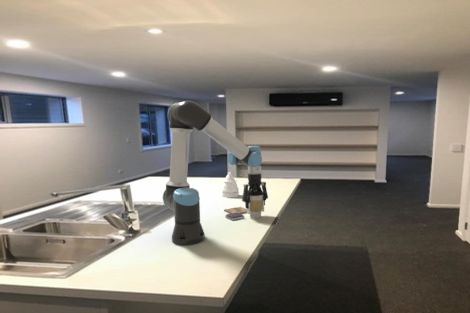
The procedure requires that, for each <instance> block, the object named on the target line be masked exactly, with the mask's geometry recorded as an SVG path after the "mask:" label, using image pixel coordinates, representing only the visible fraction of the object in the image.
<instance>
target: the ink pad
mask: <svg viewBox="0 0 470 313" xmlns="http://www.w3.org/2000/svg"><path fill="white" fill-rule="evenodd" d="M224 217H225V218H226V219H228V220H230V221H237V220H238V221H239V220H243V219H245V215H243V214H239V213H231V214H230V213H227V214H225V216H224Z"/></svg>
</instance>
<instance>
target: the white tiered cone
mask: <svg viewBox="0 0 470 313" xmlns="http://www.w3.org/2000/svg"><path fill="white" fill-rule="evenodd" d="M237 181H238V180H237V179H235V177H234V175H232V172H231V171H229V172H227V175H226V176H225V178H224V179H223V184H222V187H221V198H225V197H227V199H228V198H231V197H233V198H238V197H239V196H240V193H239V187H238V183H237ZM237 196H238V197H237Z"/></svg>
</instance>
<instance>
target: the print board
mask: <svg viewBox="0 0 470 313" xmlns="http://www.w3.org/2000/svg"><path fill="white" fill-rule="evenodd" d="M223 211H224V212H226V213H227V214H231V213H239V214H242V215H243V214H247V208H246V207H243V206H236V207H231V208H226V209H225V208H224V209H223Z"/></svg>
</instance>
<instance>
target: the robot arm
mask: <svg viewBox="0 0 470 313" xmlns="http://www.w3.org/2000/svg"><path fill="white" fill-rule="evenodd" d="M167 120H168V122H169V126H168V127H169V130H170V132H171V149H170V150H171V151H170V162H169V163H170V165H169V180H168V181H167V182H166V183H165V190H164V191H163V194H162V201H163V204H164V206H165V207H166V208H167V209H168V210H170V211H172V212H174V226H173V231H172V234H171V242H172V243H173V244H176V245H179V246H191V245H196V244H199V243H201V242H203V241H204V240H206V239H205V238H206V237H205V231H204V229H203V226H202V223H201V210H200V209H201V205H200V204H201V203H200V200H201V199H200V193H199V191H198V190H197V189H196V188H193V187H191V186H190V185H191V184H190V183H189V182H188V168H189V152H190V150H189V149H190V135H191V133H192V132H193V131H194V129H195V130H197V131H198V132H203V133H204V134H206V135H207V136H209V137H210V138H211V139H212V140H213V141H214V142H216V143H217V144H219V145H220V146H221V147H223V148H224V149H225V150H227V151H228V153H227V162H228V163H229V165H231V166H236V165H241V166H246V167H247V173H248V174H247V180H248V182H247V183H244V184H243V193H242V198H241V201H242V202H243V203H244V204H245V207H244V208H245V209H247V213H246V215H247V214H248V215H250V203H249V200H250V196H249V195H247V193H248V190H249V192H253V191H254V190H256V189H257V190H258V191H260V190H262V191H263V193H264V194H263V198H262V199H263V201H262V211H261V213H263V212H265V206H266V201H267V200H268V199H269V195H268V192H267V191H268V190H267V183H266V181H262V161H263V158H262V156H263V155H262V150H261V147H260V146H259V145H250V146H249V145H248V146H247V145H246V144H245V143H243V142H242V141H241V140H240V139H238V138H237V137H236V136H235V135H234V134H232V133H231V132H230V131H229V130H227V129H226V128H225V127H224V126H222V125H221V124H220V123H219V122H217V120H215V119H213V115H212V114H211V113H210V112H208V110H206V109H205V108H204V107H202V105H200V104H199V103H197V102H195V101H194V100H193V101H192V100H183V101H178V102H175V103H174V104H172V105H171V106H170V107H169V109H168V110H167ZM251 189H252V190H251Z"/></svg>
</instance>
